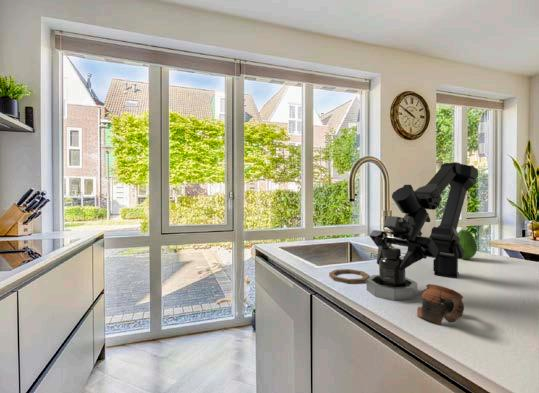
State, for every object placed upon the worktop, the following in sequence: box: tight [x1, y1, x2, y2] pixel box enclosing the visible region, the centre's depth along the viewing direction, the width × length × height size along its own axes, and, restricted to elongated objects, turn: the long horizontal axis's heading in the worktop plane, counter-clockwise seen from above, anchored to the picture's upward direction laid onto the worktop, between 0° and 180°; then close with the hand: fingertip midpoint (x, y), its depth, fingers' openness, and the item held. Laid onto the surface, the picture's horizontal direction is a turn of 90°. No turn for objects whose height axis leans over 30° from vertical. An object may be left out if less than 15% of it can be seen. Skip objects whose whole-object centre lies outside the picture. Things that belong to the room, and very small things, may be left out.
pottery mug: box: [416, 283, 465, 326], centre depth 67 cm, size 12×10×8 cm
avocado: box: [457, 229, 478, 260], centre depth 122 cm, size 8×8×12 cm
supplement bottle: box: [378, 247, 407, 287], centre depth 84 cm, size 7×7×12 cm
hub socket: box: [366, 274, 418, 301], centre depth 84 cm, size 12×12×3 cm
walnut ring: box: [328, 268, 371, 284], centre depth 98 cm, size 12×12×1 cm
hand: (388, 266), depth 84 cm, fingers open, 7 cm apart
